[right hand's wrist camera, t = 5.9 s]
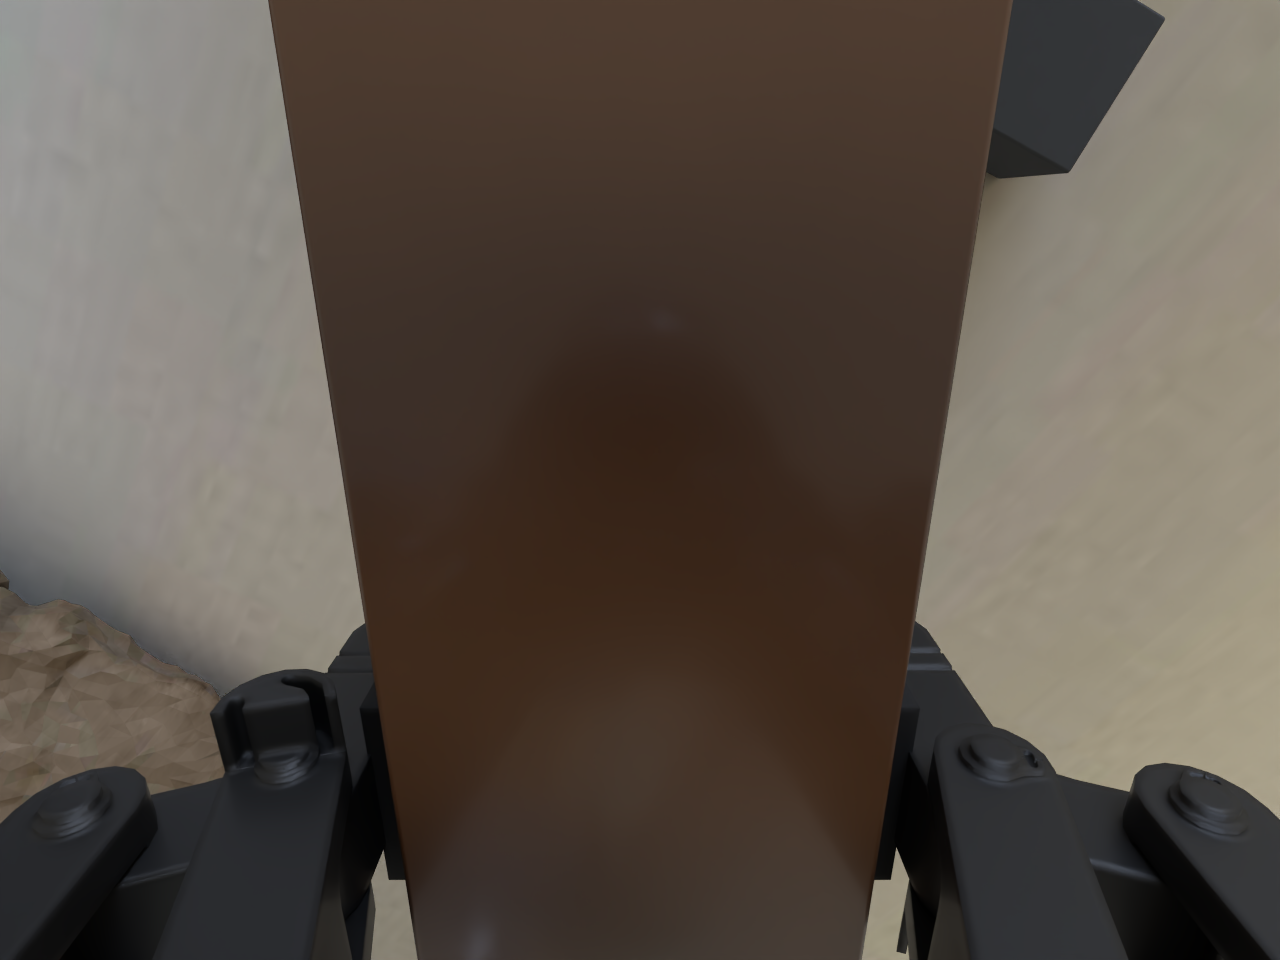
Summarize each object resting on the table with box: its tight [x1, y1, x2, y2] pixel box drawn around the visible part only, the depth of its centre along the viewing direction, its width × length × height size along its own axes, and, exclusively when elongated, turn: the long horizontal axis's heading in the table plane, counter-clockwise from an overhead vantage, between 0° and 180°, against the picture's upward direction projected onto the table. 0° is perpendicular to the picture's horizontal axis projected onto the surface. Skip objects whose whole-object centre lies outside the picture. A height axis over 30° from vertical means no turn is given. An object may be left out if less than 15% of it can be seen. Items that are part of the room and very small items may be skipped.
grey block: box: [986, 0, 1165, 178], centre depth 20 cm, size 4×4×4 cm
